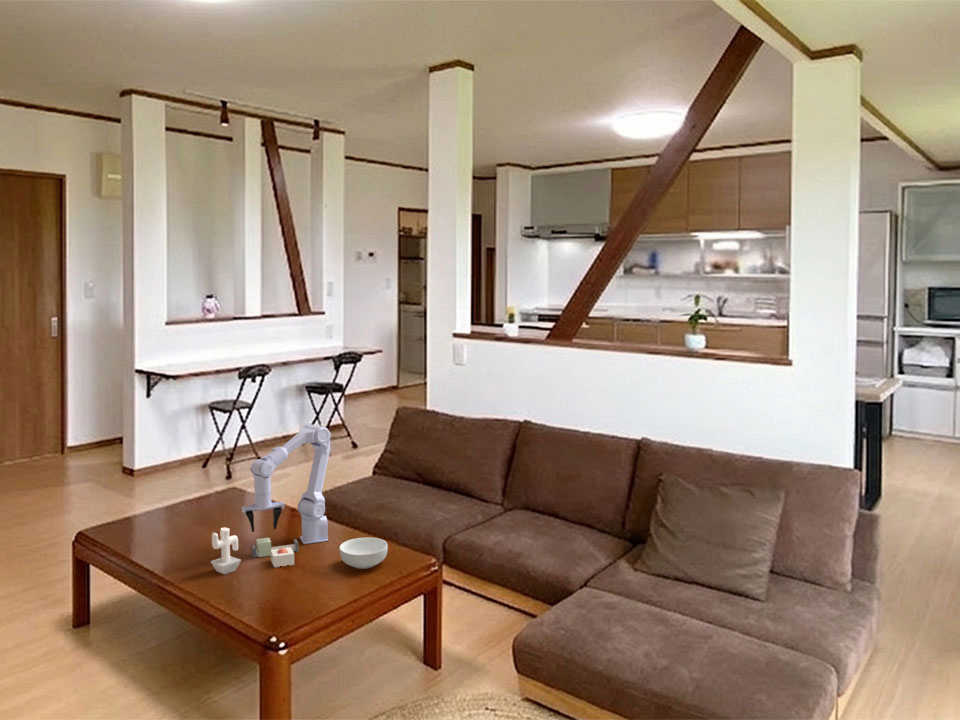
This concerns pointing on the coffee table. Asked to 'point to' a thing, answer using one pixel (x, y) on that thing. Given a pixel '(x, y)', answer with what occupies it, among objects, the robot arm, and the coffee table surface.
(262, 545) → the block
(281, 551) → the plunger
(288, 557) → the box
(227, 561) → the figurine
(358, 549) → the cereal bowl
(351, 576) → the coffee table surface
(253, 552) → the slide rail
